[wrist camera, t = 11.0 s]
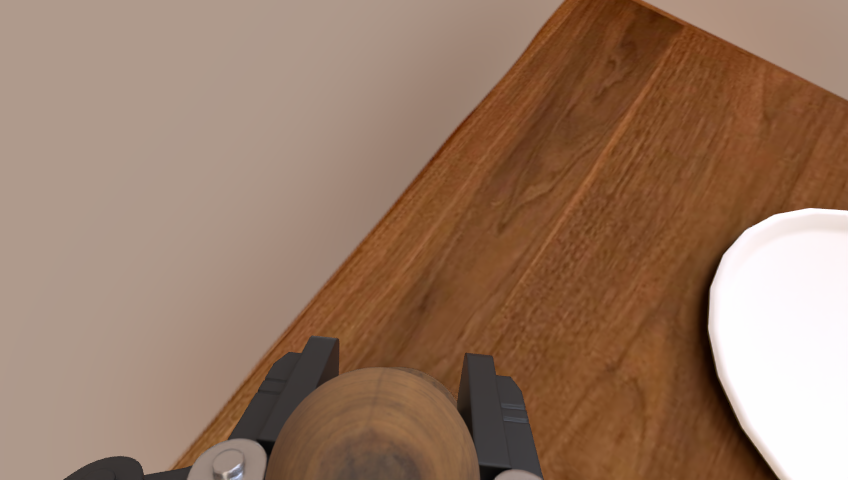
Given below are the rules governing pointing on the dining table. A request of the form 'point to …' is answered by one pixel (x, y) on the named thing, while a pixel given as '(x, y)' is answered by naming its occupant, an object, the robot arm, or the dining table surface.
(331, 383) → the mortar and pestle
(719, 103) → the dining table surface
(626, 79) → the dining table surface
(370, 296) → the dining table surface
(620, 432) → the dining table surface
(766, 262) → the plate
